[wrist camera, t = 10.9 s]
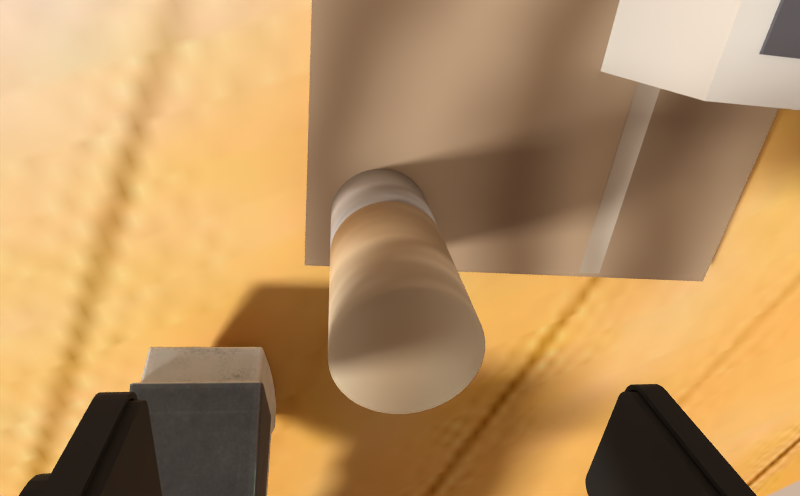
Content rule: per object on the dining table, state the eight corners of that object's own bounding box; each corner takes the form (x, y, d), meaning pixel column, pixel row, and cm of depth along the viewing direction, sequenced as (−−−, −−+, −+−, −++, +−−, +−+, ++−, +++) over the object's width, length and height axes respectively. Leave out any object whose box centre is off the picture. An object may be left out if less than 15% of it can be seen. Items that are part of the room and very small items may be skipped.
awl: (433, 172, 20) (499, 290, 12) (421, 259, 22) (470, 414, 14) (333, 165, 19) (331, 284, 11) (328, 255, 21) (324, 414, 13)
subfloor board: (862, -149, 18) (897, -159, 16) (687, 269, 25) (703, 281, 24) (320, -256, 15) (319, -276, 14) (306, 252, 22) (304, 265, 21)
